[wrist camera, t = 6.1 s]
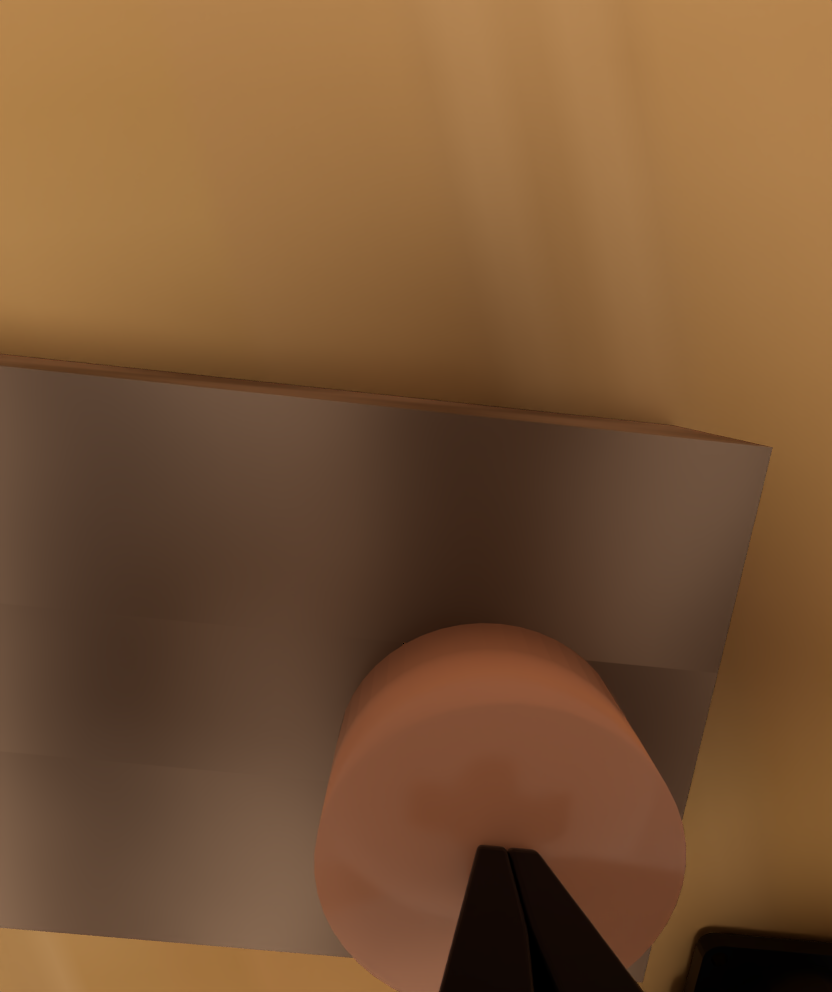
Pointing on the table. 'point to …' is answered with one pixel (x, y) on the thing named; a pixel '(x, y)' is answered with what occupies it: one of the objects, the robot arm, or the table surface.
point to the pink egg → (488, 798)
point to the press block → (304, 615)
